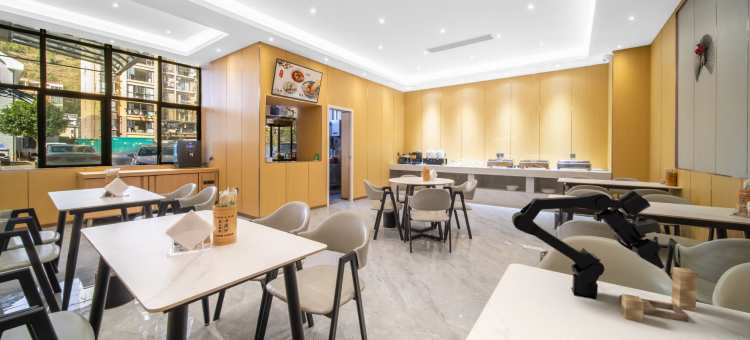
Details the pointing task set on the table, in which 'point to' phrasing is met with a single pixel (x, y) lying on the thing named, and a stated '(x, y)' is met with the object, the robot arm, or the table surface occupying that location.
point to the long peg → (684, 288)
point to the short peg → (632, 307)
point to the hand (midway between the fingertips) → (654, 262)
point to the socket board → (651, 310)
